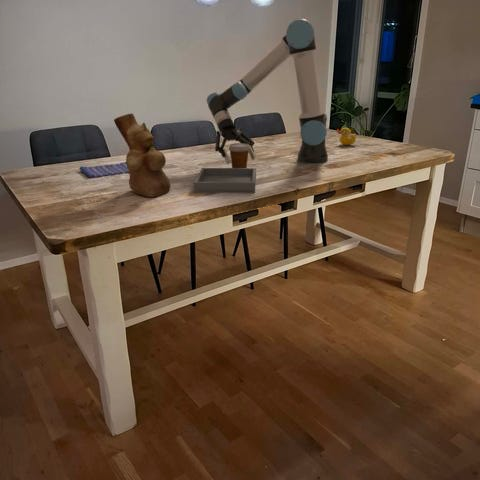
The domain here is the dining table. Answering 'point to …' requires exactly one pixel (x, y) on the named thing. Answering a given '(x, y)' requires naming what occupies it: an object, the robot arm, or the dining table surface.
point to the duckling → (344, 138)
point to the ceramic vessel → (143, 158)
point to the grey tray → (226, 180)
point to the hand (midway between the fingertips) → (241, 160)
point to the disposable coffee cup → (239, 155)
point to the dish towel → (105, 170)
